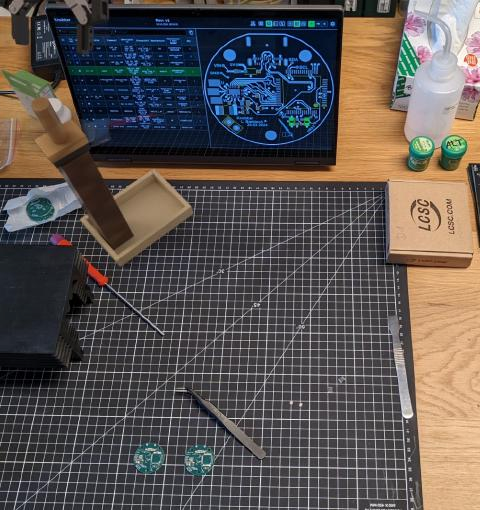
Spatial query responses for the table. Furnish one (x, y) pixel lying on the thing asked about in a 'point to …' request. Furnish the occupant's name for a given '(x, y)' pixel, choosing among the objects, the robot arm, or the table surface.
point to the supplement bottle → (61, 110)
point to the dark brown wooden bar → (96, 199)
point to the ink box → (29, 88)
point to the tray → (145, 215)
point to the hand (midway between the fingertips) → (52, 49)
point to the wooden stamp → (58, 135)
